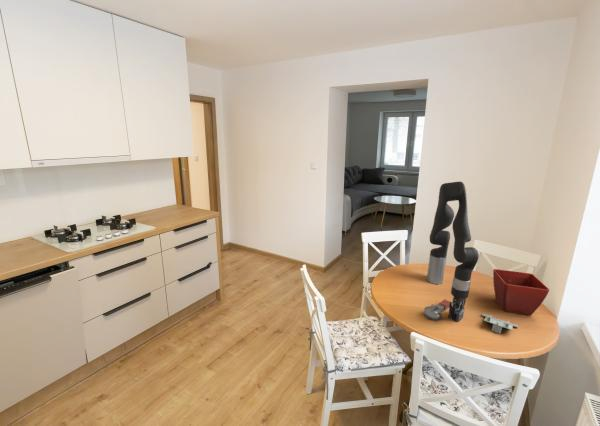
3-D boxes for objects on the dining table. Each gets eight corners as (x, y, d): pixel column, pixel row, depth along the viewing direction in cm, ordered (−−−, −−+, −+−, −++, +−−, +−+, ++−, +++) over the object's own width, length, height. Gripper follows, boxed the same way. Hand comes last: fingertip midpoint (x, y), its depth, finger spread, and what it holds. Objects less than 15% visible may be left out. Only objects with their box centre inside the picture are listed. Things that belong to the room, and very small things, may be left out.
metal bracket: (518, 328, 133) (479, 315, 142) (515, 340, 133) (477, 327, 142) (518, 321, 144) (483, 310, 153) (516, 333, 144) (480, 321, 153)
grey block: (452, 313, 152) (454, 303, 151) (462, 318, 149) (464, 307, 147) (447, 317, 149) (449, 306, 148) (458, 322, 146) (460, 311, 144)
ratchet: (439, 302, 163) (441, 292, 161) (454, 308, 157) (456, 298, 155) (420, 315, 150) (421, 304, 149) (435, 322, 145) (437, 311, 143)
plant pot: (526, 300, 166) (532, 273, 162) (542, 320, 148) (550, 290, 144) (487, 295, 171) (492, 268, 167) (499, 313, 153) (505, 284, 149)
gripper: (459, 279, 152) (454, 308, 156) (446, 287, 143) (441, 318, 147) (475, 285, 146) (469, 315, 151) (462, 294, 137) (456, 326, 142)
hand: (455, 316), depth 149 cm, fingers closed on grey block, 5 cm apart
